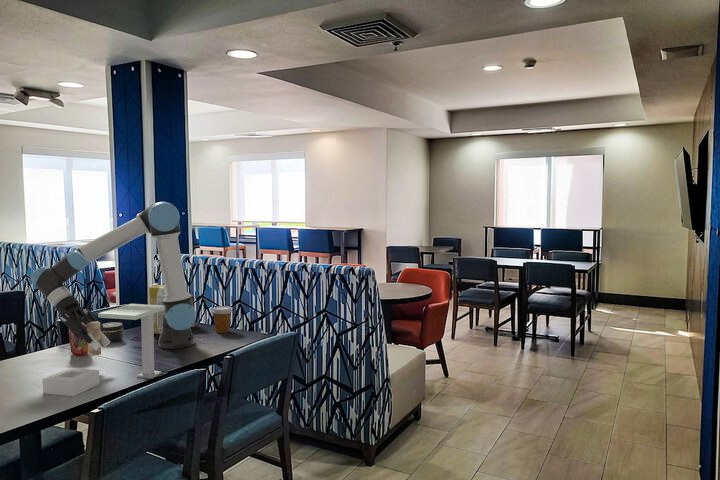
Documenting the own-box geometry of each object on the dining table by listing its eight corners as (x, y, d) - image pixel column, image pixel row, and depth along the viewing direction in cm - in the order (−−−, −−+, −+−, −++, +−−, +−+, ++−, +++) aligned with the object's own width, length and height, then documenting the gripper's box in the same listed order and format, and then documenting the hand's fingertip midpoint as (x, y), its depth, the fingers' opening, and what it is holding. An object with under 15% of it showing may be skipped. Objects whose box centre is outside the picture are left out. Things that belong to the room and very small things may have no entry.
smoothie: (81, 357, 212) (80, 309, 211) (64, 356, 214) (62, 308, 212) (95, 352, 220) (94, 305, 219) (78, 350, 222) (77, 304, 221)
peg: (100, 351, 199) (99, 321, 198) (101, 354, 195) (100, 323, 194) (87, 353, 197) (86, 322, 196) (88, 356, 193) (87, 324, 192)
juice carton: (156, 329, 260) (155, 282, 258) (171, 330, 259) (170, 282, 257) (146, 333, 251) (145, 285, 249) (161, 334, 250) (160, 285, 248)
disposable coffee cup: (214, 335, 251) (214, 310, 250) (210, 330, 259) (210, 306, 258) (234, 332, 255) (234, 309, 254) (229, 328, 264) (229, 305, 263)
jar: (116, 344, 233) (116, 327, 233) (95, 343, 233) (94, 327, 233) (127, 338, 243) (127, 322, 242) (106, 337, 243) (105, 321, 243)
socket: (70, 381, 185) (69, 367, 185) (99, 384, 183) (98, 370, 182) (42, 393, 173) (42, 378, 173) (73, 396, 171) (73, 381, 170)
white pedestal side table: (99, 380, 186) (98, 313, 185) (131, 364, 204) (130, 303, 202) (141, 384, 183) (140, 316, 181) (170, 368, 200) (169, 306, 199)
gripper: (75, 303, 206) (112, 346, 204) (39, 312, 189) (80, 359, 187) (86, 290, 205) (124, 333, 203) (51, 299, 188) (92, 346, 186)
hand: (103, 346), depth 195 cm, fingers closed on peg, 4 cm apart
